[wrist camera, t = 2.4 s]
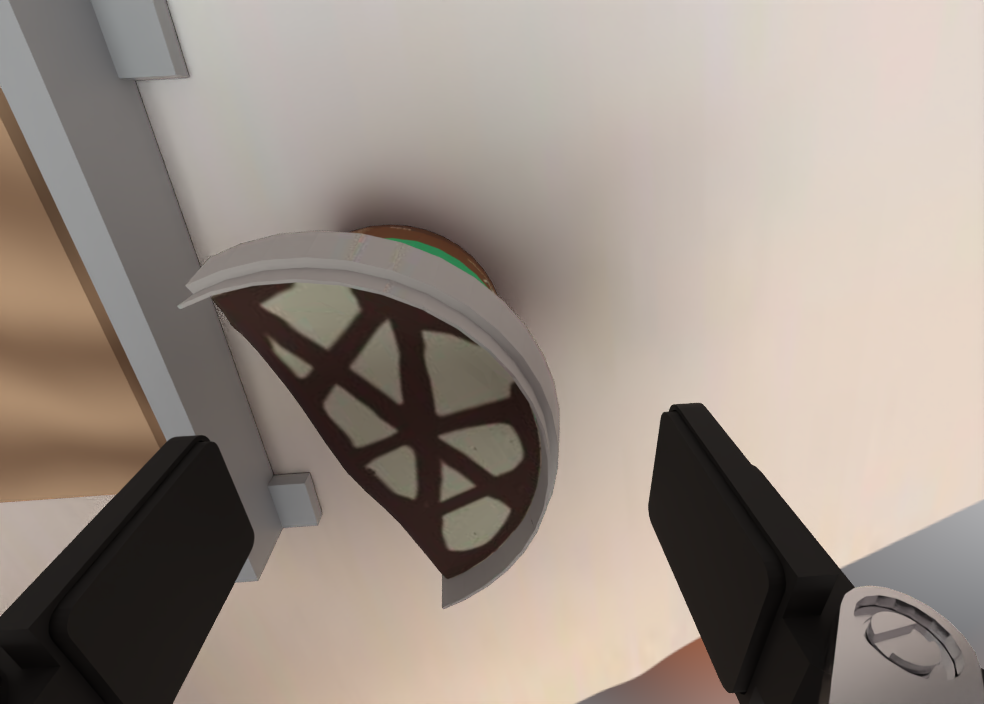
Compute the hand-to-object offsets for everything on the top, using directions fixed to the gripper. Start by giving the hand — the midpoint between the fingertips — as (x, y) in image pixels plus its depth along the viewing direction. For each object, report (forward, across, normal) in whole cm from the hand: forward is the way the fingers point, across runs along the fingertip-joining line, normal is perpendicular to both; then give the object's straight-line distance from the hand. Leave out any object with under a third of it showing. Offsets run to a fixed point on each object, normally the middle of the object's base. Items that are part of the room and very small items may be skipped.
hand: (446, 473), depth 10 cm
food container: (+12, 0, 0) cm, 12 cm away
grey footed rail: (+11, +11, 0) cm, 16 cm away
